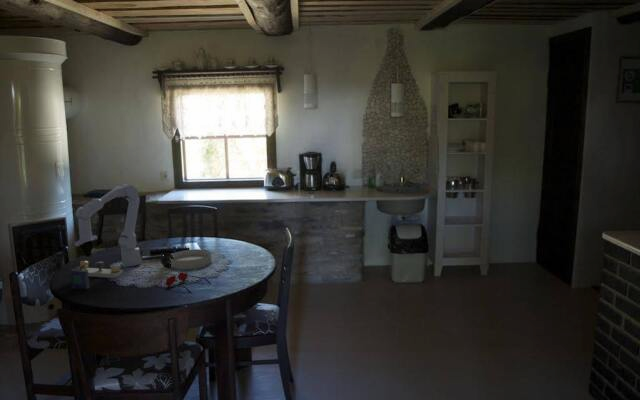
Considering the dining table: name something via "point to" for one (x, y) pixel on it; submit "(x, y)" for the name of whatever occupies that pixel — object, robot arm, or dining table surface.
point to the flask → (80, 278)
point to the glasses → (182, 277)
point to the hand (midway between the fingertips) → (87, 256)
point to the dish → (190, 259)
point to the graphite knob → (99, 264)
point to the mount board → (102, 273)
